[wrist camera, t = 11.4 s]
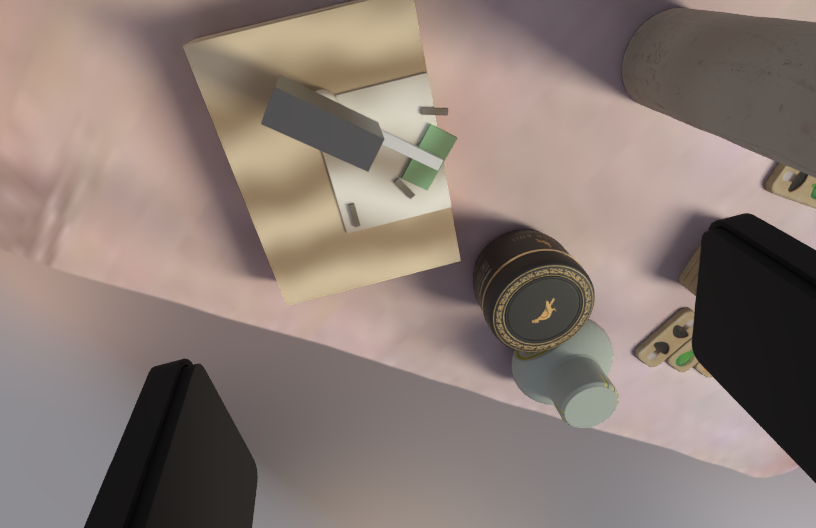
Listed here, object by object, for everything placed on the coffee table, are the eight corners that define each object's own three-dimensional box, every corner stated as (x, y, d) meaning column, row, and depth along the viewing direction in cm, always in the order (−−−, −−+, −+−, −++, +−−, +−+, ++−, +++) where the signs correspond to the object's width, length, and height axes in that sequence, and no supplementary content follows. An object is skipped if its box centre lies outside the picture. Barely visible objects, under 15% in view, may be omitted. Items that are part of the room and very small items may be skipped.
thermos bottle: (713, 85, 47) (1138, 211, 22) (628, 120, 47) (955, 281, 23) (707, -9, 42) (1217, 21, 18) (614, 31, 43) (994, 111, 19)
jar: (574, 225, 52) (612, 263, 45) (549, 310, 56) (580, 355, 50) (477, 221, 50) (501, 259, 43) (460, 308, 54) (479, 355, 48)
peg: (269, 99, 37) (260, 124, 32) (282, 67, 37) (275, 86, 31) (430, 174, 42) (449, 208, 36) (445, 147, 41) (466, 177, 35)
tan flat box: (194, 38, 39) (180, 46, 35) (421, -17, 39) (432, -15, 35) (288, 282, 50) (286, 309, 46) (464, 237, 50) (476, 259, 46)
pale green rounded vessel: (576, 292, 56) (623, 351, 47) (608, 338, 60) (657, 400, 51) (492, 348, 58) (522, 415, 49) (527, 389, 62) (562, 457, 53)
